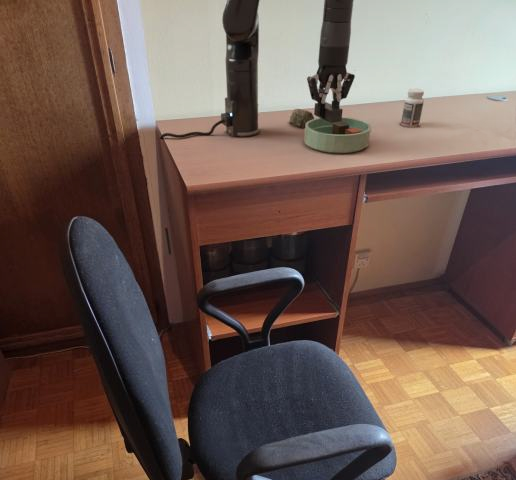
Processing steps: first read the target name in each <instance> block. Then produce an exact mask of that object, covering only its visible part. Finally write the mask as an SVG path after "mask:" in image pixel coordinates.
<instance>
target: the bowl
mask: <svg viewBox="0 0 516 480" xmlns="http://www.w3.org/2000/svg"><path fill="white" fill-rule="evenodd" d="M340 122H344V123H346V124H348V125H349V129H351V128H357V129H359V130H361V131H363V132H361V133H356V134H347V135H336V134H332V130H333V123H330V122H328V121H326V120H324V119H322V118H319V117H317V118H314V119H312V120H310V121H308V122H307V123H306V124H305V126H304V139H303V140H304V141H303V142H304V144H305V145H306V146H308V147H310V148H311V149H314V150H316V151H319V152H323V153H328V154H350V153H356V152H359V151H362V150H363V149H366V148H367V147H368V146H369V144H370V140H371V133H372V125H371V124H370V123H368V122H367V121H364V120H363V119H359V118H353V117H347V116H346V117H345V116H342V121H340ZM340 122H334V123H340Z"/></svg>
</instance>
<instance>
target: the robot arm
mask: <svg viewBox="0 0 516 480" xmlns="http://www.w3.org/2000/svg"><path fill="white" fill-rule="evenodd" d="M260 1H261V0H226V4H225V5H224V9H223V13H222V19H221V20H222V21H221V22H222V28H223V30H224V33H225V41H226V42H225V43H226V44H225V45H226V48H225V49H226V50H225V78H226V97H224V110H225V112H223V113H220V120H219V121H217V122H216V123H214V124H213V125H212V126H211V129H210V130H209V131H208V132H203V131H202V132H201V131H191V132H187V133H182V134H175V133H171V132H165V133H163V134H161V135H160V136H159V137H158V140H163V139H164V138H165V137H171V138H177V139H182V138H187V137H191V136H211V135H212V134H213V133H214V131H215V129H216V128H217V127H218V126H219V125H222V126H224V127H225V131H226V132H227V133H228V134H229V135H230V136H232V137H234V138H235V137H253V136H255V135H257V134H259V54H260V53H259V51H260V49H259V48H260V46H259V43H260V39H259V38H260V18H259V6H260ZM354 1H355V0H324V3H323V10H322V11H323V12H322V23H321V27H320V36H319V47H318V48H319V49H318V59H317V63H318V68H317V70H316V74H314V75H311V76H310V75H308V76H307V78H306V82H307V85H308V89H309V94H310V98H311V100H312V101H314V102H316V103H318V106H317V115H318V116H317V118H324V113H325V105H326V104H325V102H326V100H327V97H328V95H329V92H330V91H331V92H332V93H331V94H332V100H331V104H332V105H334V106H336V107H338V108H340V106H341V105H340V103H341V100H344V99H347V98H348V95H349V93H350V90H351V88H352V86H353V83H354V80H355V78H356V75H355V74H353V73H351V72H348V70H347V65H348V60H349V52H350V45H351V44H350V43H351V37H352V36H351V35H352V18H353V9H354ZM164 230H165V238H166V243H167V253H168V255H172V249H171V241H170V236H169V235H170V234H169V230H168V227H164Z"/></svg>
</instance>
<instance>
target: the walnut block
mask: <svg viewBox="0 0 516 480" xmlns="http://www.w3.org/2000/svg"><path fill="white" fill-rule="evenodd" d="M346 129H349V125H348V124H346V123H344V122H340V123H333V130H332V134H336V135H345V130H346Z"/></svg>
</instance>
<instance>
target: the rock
mask: <svg viewBox="0 0 516 480" xmlns="http://www.w3.org/2000/svg"><path fill="white" fill-rule="evenodd" d="M312 119H315V115H314V113H312V112H311V111H310V110H305V109H301V108H295V109H293V110H292V112H291V115H290V117H289V124H292V125H294V126H295V127H298V128H300V129H305V124H306V123H307V122H308V121H310V120H312Z"/></svg>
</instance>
